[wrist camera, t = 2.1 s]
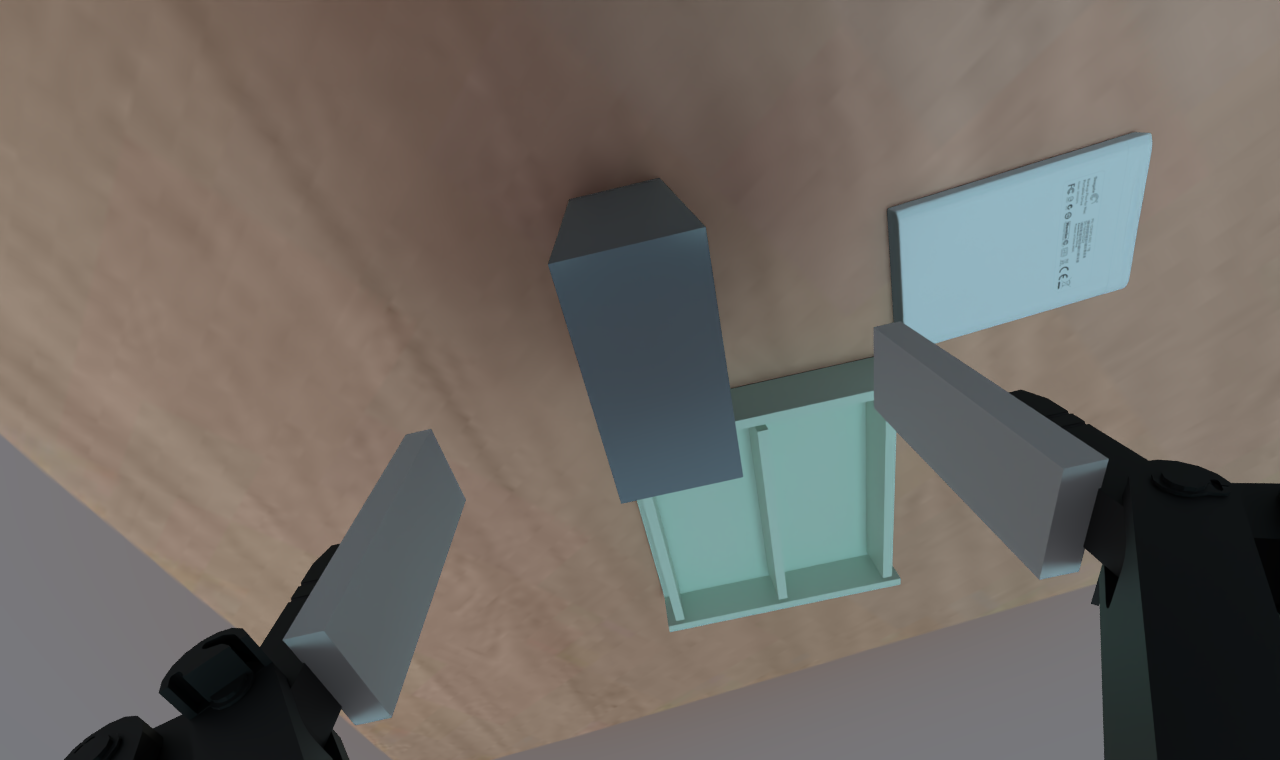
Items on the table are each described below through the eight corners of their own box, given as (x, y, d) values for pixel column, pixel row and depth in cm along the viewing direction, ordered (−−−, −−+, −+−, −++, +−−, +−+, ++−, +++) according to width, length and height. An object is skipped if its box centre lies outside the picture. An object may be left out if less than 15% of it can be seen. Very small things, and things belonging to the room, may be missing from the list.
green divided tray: (614, 414, 31) (616, 447, 28) (877, 355, 30) (908, 383, 27) (664, 591, 38) (670, 632, 35) (876, 546, 38) (900, 584, 35)
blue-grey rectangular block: (569, 199, 25) (548, 264, 14) (659, 177, 25) (705, 227, 14) (612, 361, 29) (621, 503, 18) (690, 343, 29) (743, 477, 18)
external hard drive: (882, 206, 27) (1127, 130, 26) (890, 343, 30) (1104, 282, 29) (898, 211, 25) (1158, 132, 24) (905, 355, 29) (1129, 290, 28)
